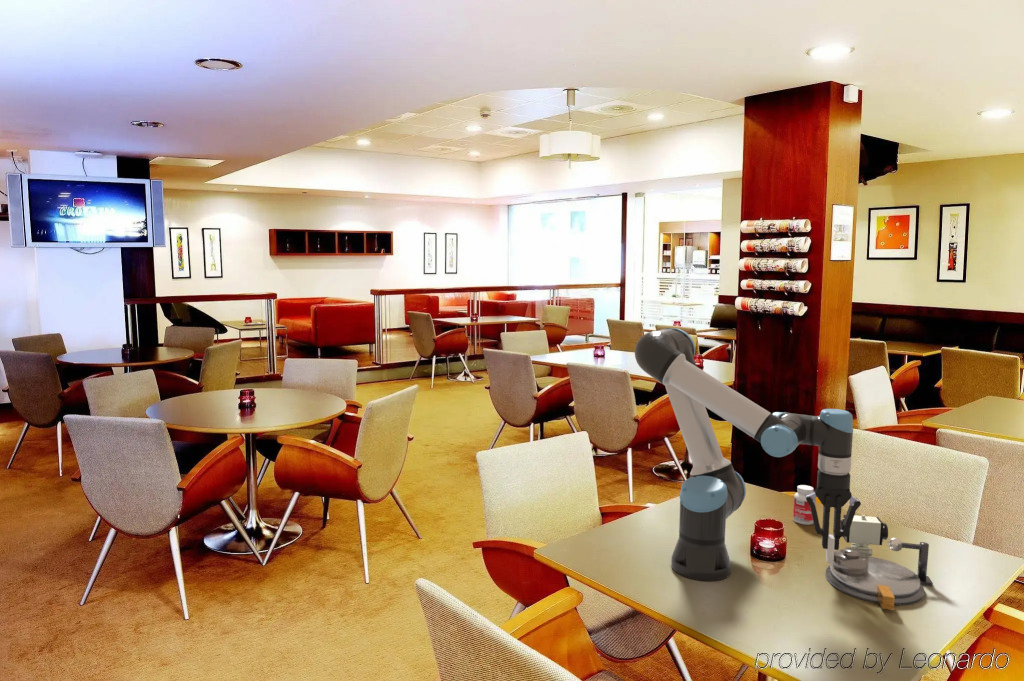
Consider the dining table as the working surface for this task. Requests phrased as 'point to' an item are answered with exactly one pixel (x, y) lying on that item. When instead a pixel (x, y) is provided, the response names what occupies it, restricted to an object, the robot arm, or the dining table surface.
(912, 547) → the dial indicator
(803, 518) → the pill bottle
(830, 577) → the turntable base
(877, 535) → the pneumatic valve
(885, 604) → the turntable
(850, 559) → the cover
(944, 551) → the dining table surface
